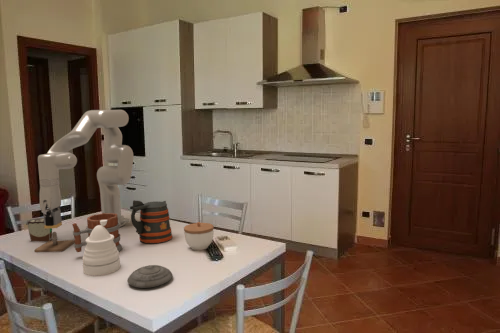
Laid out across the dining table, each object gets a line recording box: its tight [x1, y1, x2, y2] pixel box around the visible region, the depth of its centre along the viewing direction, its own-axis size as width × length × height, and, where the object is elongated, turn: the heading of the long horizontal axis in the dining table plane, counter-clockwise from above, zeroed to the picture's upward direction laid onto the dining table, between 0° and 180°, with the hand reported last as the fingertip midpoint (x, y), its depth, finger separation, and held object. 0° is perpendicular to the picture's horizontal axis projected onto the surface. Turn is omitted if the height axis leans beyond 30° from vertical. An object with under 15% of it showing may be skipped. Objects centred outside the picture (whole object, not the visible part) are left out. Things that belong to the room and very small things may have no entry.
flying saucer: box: [127, 264, 173, 289], centre depth 131 cm, size 15×15×6 cm
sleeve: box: [43, 209, 63, 229], centre depth 167 cm, size 5×5×7 cm
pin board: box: [34, 231, 75, 253], centre depth 168 cm, size 12×12×7 cm
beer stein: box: [129, 200, 173, 244], centre depth 174 cm, size 19×15×20 cm
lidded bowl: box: [183, 221, 214, 251], centre depth 164 cm, size 13×13×11 cm
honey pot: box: [82, 220, 121, 277], centre depth 142 cm, size 13×13×18 cm
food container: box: [25, 217, 53, 243], centre depth 179 cm, size 12×6×10 cm, turn 84°
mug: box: [72, 212, 123, 253], centre depth 160 cm, size 14×19×15 cm
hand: (53, 223), depth 167 cm, fingers closed on sleeve, 5 cm apart
